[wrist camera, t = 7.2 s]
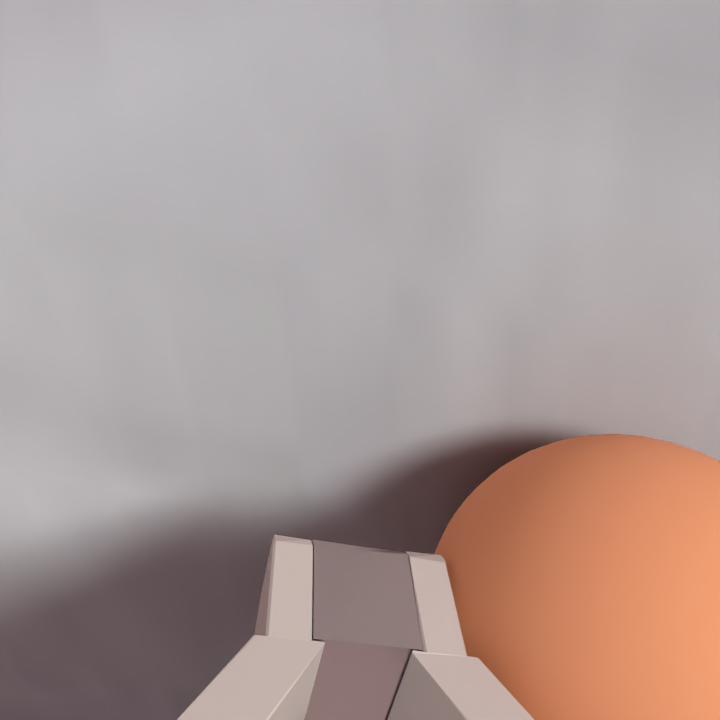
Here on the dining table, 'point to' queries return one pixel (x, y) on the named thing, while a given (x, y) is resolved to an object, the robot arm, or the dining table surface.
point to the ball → (595, 579)
